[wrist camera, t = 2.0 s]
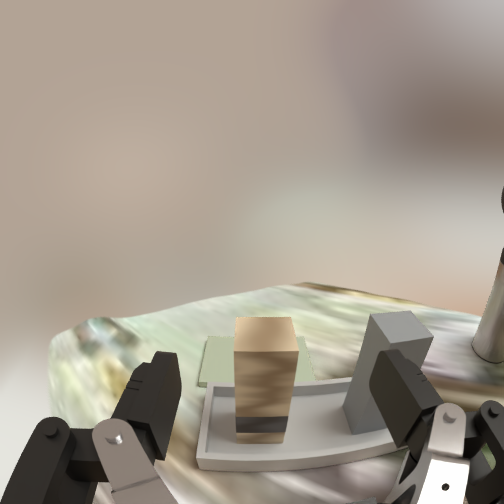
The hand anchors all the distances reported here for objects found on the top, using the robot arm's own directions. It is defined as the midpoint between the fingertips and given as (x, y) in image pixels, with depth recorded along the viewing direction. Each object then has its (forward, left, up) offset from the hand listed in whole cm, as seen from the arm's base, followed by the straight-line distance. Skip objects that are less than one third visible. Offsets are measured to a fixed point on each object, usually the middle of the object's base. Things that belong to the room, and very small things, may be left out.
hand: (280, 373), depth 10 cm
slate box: (-16, +6, -20) cm, 26 cm away
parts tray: (-13, 0, -21) cm, 25 cm away
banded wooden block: (-10, -5, -20) cm, 23 cm away
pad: (-21, -12, -21) cm, 32 cm away
